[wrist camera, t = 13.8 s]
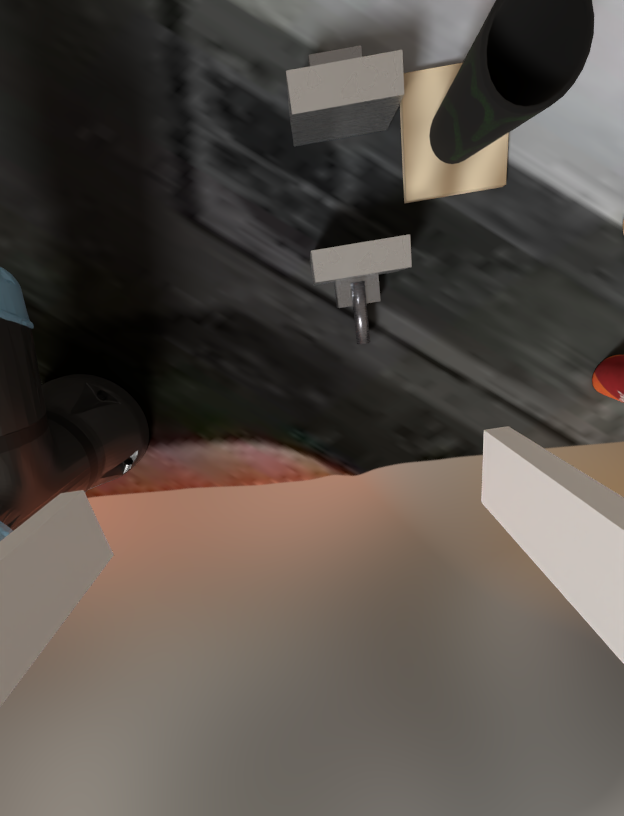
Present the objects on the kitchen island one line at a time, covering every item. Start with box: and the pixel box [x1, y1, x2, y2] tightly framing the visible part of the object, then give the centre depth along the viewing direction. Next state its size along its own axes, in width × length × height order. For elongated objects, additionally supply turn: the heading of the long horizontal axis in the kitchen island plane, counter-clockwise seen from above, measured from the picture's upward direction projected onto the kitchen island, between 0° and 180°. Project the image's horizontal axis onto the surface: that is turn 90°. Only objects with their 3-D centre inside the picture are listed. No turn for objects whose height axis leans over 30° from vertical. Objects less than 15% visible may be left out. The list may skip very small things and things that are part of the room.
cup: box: [429, 0, 594, 164], centre depth 27 cm, size 8×8×12 cm
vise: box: [286, 45, 412, 344], centre depth 33 cm, size 10×28×6 cm, turn 9°
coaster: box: [400, 63, 508, 203], centre depth 33 cm, size 11×11×1 cm
